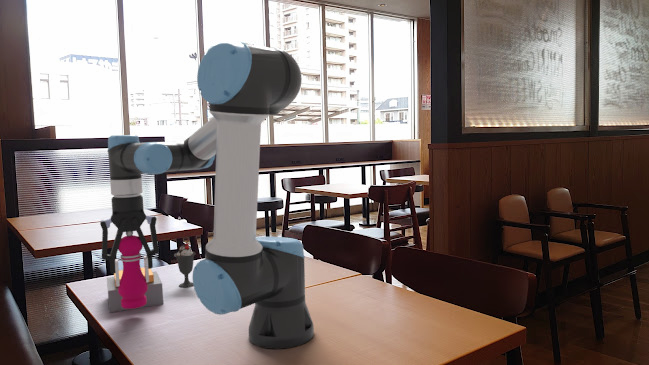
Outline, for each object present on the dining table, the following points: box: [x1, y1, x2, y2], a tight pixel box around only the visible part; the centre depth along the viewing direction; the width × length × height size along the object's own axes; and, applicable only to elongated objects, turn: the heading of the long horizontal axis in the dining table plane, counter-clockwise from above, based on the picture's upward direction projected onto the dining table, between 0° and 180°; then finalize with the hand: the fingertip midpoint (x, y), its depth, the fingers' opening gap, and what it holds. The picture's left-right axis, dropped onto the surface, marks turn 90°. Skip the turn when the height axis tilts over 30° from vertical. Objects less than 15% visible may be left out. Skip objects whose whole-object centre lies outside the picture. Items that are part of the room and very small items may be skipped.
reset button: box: [113, 266, 154, 287], centre depth 145 cm, size 10×10×7 cm
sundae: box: [173, 238, 197, 288], centre depth 159 cm, size 7×7×15 cm
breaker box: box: [106, 271, 164, 313], centre depth 146 cm, size 14×14×6 cm
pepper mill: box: [118, 231, 148, 310], centre depth 132 cm, size 7×7×20 cm
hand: (132, 282), depth 132 cm, fingers closed on pepper mill, 6 cm apart
